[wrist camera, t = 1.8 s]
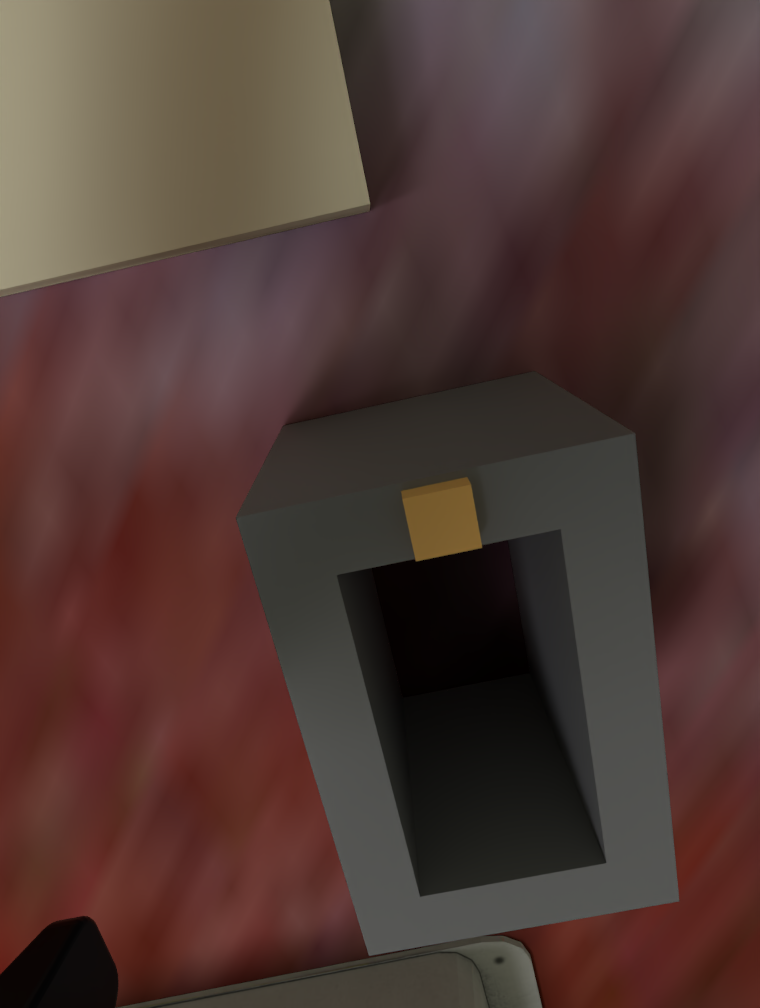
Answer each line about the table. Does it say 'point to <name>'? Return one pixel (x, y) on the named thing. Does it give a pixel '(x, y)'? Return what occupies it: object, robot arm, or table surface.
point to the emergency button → (391, 982)
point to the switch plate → (166, 131)
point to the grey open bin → (482, 706)
